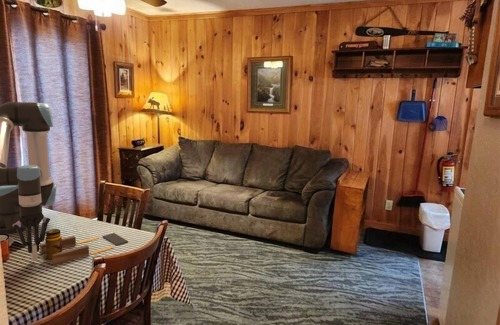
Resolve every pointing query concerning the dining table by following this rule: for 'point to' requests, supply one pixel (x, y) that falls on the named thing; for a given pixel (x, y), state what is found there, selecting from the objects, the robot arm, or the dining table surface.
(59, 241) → the condiment
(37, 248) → the robot arm
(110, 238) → the mat
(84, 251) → the parallel wooden rails
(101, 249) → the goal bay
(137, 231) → the dining table surface
